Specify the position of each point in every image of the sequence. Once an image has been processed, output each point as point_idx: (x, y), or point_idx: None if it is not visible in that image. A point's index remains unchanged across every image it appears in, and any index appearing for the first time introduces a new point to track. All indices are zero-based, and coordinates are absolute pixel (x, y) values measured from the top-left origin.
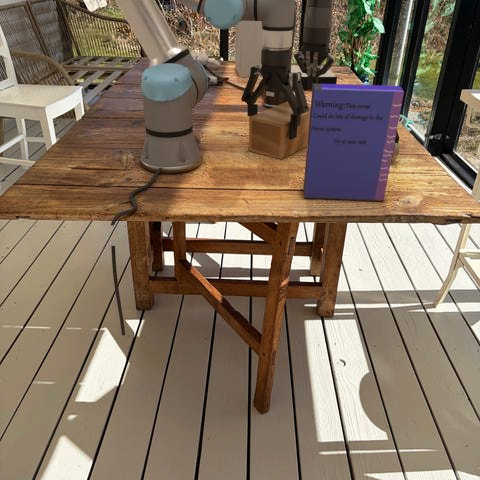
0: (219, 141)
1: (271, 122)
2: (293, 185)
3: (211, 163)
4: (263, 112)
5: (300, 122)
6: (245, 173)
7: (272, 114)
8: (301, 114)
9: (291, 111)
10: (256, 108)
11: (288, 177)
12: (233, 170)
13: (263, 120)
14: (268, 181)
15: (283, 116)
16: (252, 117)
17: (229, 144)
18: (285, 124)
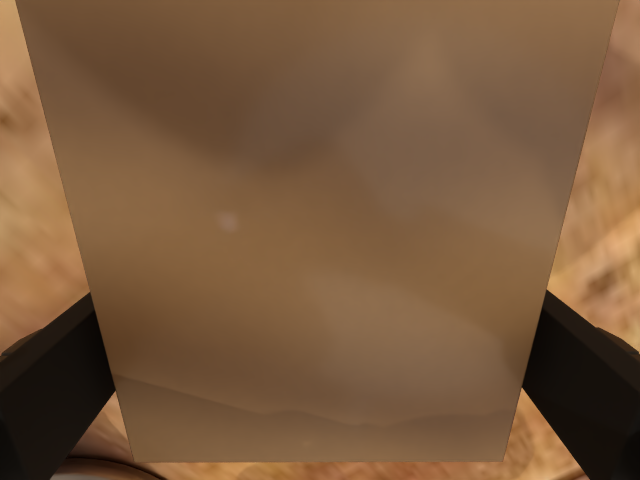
0: (13, 279)
1: (372, 455)
2: (558, 454)
3: (206, 469)
4: (120, 291)
5: (636, 352)
6: (363, 467)
7: (246, 292)
8: (559, 60)
9: (365, 9)
10: (43, 379)
11: (518, 417)
12: (312, 471)
13: (288, 457)
14: (467, 473)
15: (388, 283)
16: (167, 461)
17: (84, 282)
18: (505, 437)
